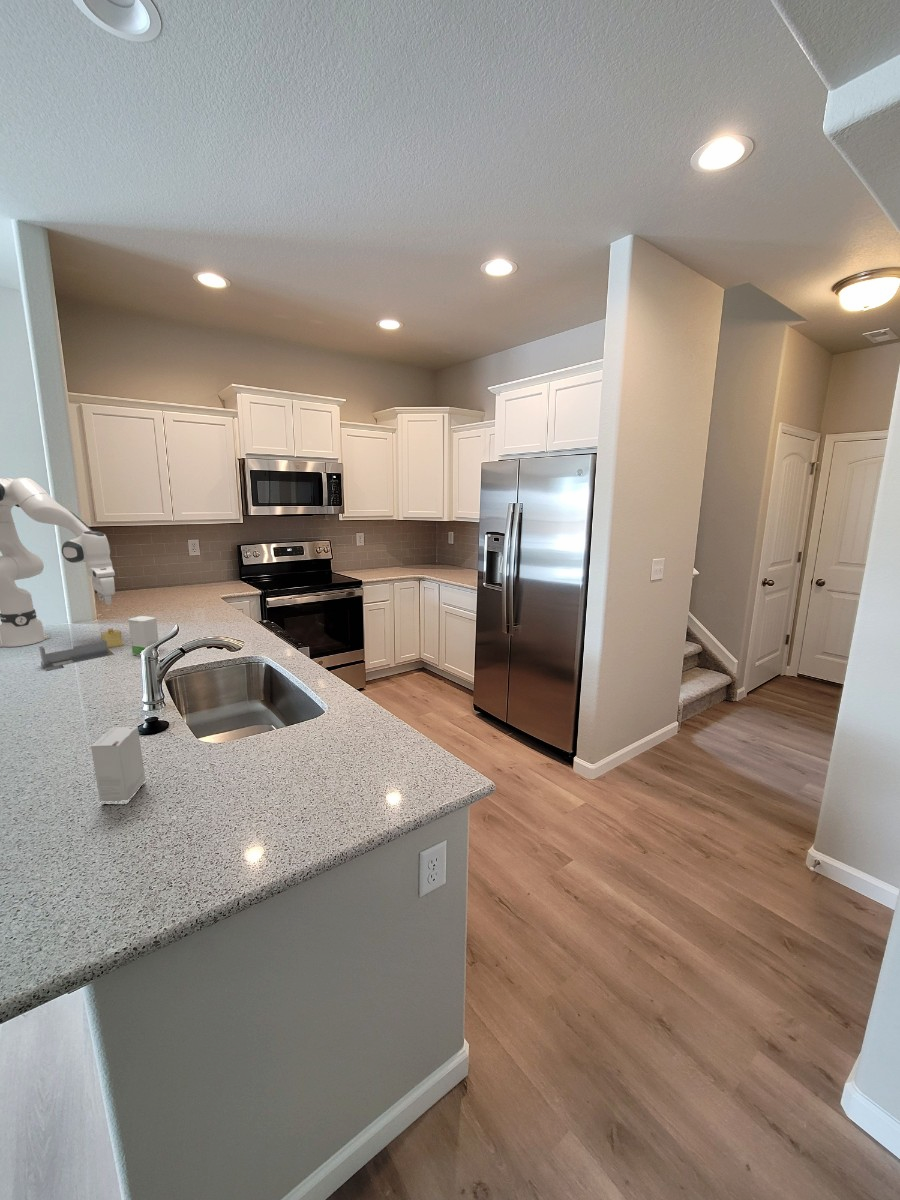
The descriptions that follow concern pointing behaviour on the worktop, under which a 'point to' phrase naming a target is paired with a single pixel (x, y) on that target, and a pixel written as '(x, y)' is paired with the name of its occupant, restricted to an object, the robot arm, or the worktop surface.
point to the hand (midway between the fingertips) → (105, 602)
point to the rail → (74, 655)
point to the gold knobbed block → (112, 638)
